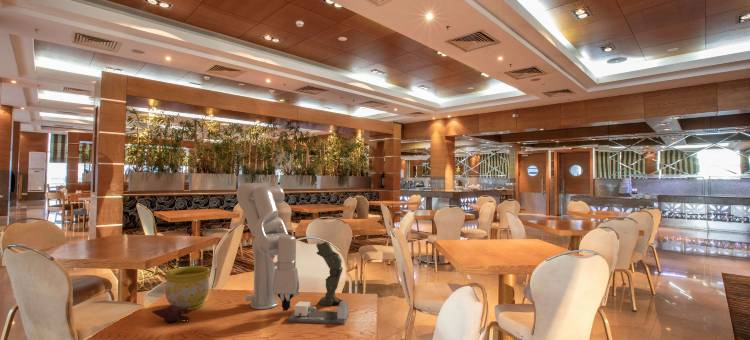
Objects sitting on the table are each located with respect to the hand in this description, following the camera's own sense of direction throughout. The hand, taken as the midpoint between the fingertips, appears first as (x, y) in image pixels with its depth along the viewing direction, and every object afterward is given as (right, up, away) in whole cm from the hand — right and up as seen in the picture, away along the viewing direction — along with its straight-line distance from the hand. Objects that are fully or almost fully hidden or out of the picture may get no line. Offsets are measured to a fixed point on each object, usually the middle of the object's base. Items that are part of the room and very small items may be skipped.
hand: (286, 309), depth 161 cm
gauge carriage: (+8, -1, -2) cm, 9 cm away
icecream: (-45, -3, -6) cm, 45 cm away
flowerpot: (-47, -3, +12) cm, 49 cm away
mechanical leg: (+16, -4, +18) cm, 25 cm away
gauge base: (+14, -3, -1) cm, 14 cm away
